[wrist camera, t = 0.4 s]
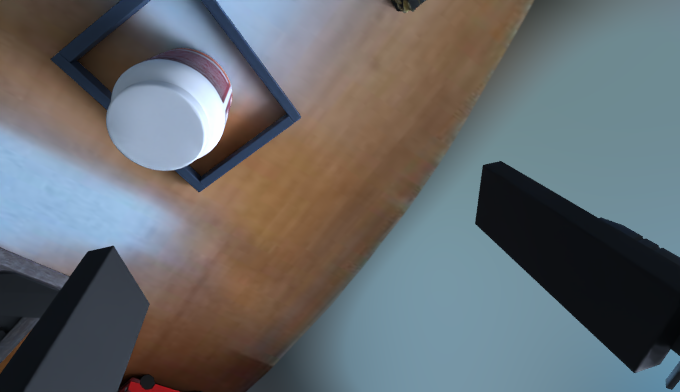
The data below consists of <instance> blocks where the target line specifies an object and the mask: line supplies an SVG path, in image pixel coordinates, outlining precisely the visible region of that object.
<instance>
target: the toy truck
mask: <svg viewBox="0 0 680 392" xmlns="http://www.w3.org/2000/svg"><path fill="white" fill-rule="evenodd" d="M154 384H155V383H154V378H153V377H152V376H150V375H144V376H143V377H141V378H140V379H137V378H134V377H132V378H131V379H130V380H129V381H127V382H126V383H125V384H124V385H123V386H122V387H121V388H120V389H119V390H118V391H117V392H179V391H176V390H173V389H170V388H166V387H163V386H160V385H157V384H155V385H154ZM153 385H154V386H153ZM200 392H201V391H200Z"/></svg>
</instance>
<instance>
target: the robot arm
mask: <svg viewBox="0 0 680 392" xmlns="http://www.w3.org/2000/svg"><path fill="white" fill-rule="evenodd" d="M475 224H476V225H477V226H478V227H479V228H480V229H481V230H482V231H483V232H485V233H486V234H487V235H488V236H489V237H490V238H491V239H492V240H493V241H494V242H495V243H497V245H498V246H499V247H501V248H502V249H503V250H504V251H505V252H506V253H507V254H508V255H509V256H510V257H511V258H512V259H514V261H515V262H517V263H518V264H519V265H520V266H521V267H522V268H523V269H524V270H525V271H526V272H527V273H528V274H529V275H531V277H533V278H534V279H535V280H536V281H537V282H538V283H539V284H540V285H541V286H542V287H543V288H544V289H545V290H546V291H547V292H549V293H550V294H551V295H552V296H553V297H554V298H555V299H556V300H557V301H558V302H559V303H560V304H561V305H562V306H564V308H565V309H567V310H568V311H569V312H570V313H571V314H572V315H573V316H574V317H575V318H576V319H577V320H578V321H579V322H580V323H581V324H583V325H584V326H585V327H586V328H587V329H588V330H589V331H590V332H591V333H592V334H593V335H594V336H595V337H596V338H597V339H599V340H600V341H601V342H602V343H603V344H604V345H605V346H606V347H607V348H608V349H609V350H610V351H611V352H612V353H613V354H615V355H616V356H617V357H618V358H619V359H620V360H621V361H622V362H623V363H624V364H625V365H626V366H627V367H628V368H629V369H630V370H631V371H633V372H634V373H636V372H639V371H642V370H645V369H648V368H651V367H653V366H656V365H659V364H660V363H661V362H662V361H663V359H664V358H665V356H666V355H667V354H668V352H669V350H670V349H672V350H673V351H674V352H676V353H677V354H678V355H679V356H680V257H678V256H676V255H674V254H673V253H671V252H669V251H667V250H666V249H664V248H659V246H658V245H657V244H655V243H653V242H652V241H649V240H648V239H643V236H641V235H639V234H637V233H636V232H634V231H632V230H630V229H629V228H627V227H625V226H623V225H621V224H618V223H615V222H612V221H609V220H606V219H604V218H597V217H595V216H594V215H592V214H590V213H589V212H587V211H585V210H584V209H582V208H580V207H578V206H576V205H575V204H573V203H572V202H570V201H568V200H566V199H565V198H563V197H561V196H560V195H558V194H556V193H554V192H553V191H551V190H550V189H548V188H546V187H544V186H543V185H541V184H539V183H537V182H536V181H534V180H532V179H531V178H529V177H527V176H525V175H524V174H522V173H520V172H519V171H517V170H515V169H514V168H512V167H510V166H509V165H506V164H505V163H503V162H502V161H499V162H495V163H491V164H486V165H483V169H482V176H481V184H480V191H479V199H478V206H477V214H476V222H475ZM148 307H149V302H148V300H147V299H146V297H145V296H144V294H143V292H142V291H141V289H140V288H139V286H138V284H137V283H136V281H135V280H134V278H133V276H132V275H131V273H130V272H129V270H128V268H127V267H126V265H125V263H124V262H123V260H122V259H121V257H120V255H119V254H118V252H117V251H116V249H115V247H114V246H111V247H106V248H101V249H97V250H92V251H88V252H87V253H86V255H85V256H84V258H83V259H82V260H81V262H80V263H79V265H78V266H77V267H76V269H75V270H74V272H73V273H72V274H71V276H70V277H69V279H68V280H67V281H66V283H65V284H64V286H63V287H62V288H61V290H60V291H59V293H58V294H57V295H56V297H55V298H54V300H53V301H52V302H51V304H50V305H49V307H48V308H47V309H46V311H45V312H44V314H43V315H42V316H41V318H40V319H39V321H38V322H37V323H36V325H35V326H34V328H33V329H32V330H31V332H30V333H29V335H28V336H27V337H26V339H25V340H24V342H23V343H22V344H21V346H20V347H19V349H18V350H17V351H16V353H15V354H14V356H13V357H12V358H11V360H10V361H9V363H8V364H7V365H6V367H5V368H4V370H3V371H2V372H1V374H0V392H117V391H118V389H119V386H120V383H121V381H122V378H123V375H124V372H125V370H126V367H127V364H128V361H129V359H130V356H131V353H132V351H133V348H134V345H135V342H136V340H137V337H138V334H139V332H140V329H141V326H142V323H143V321H144V318H145V315H146V313H147V310H148ZM679 380H680V362H679V363H678V364H677V366H676V367H675V368H674V370H673V371H672V372H671V374H670V375H669V376H668V378H667V379H666V388H668V389H671V390H672V389H673V388H674V387H675V385H676V384H677V383H678V382H679Z"/></svg>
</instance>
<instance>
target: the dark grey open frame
mask: <svg viewBox="0 0 680 392" xmlns="http://www.w3.org/2000/svg"><path fill="white" fill-rule="evenodd" d="M149 1H150V0H120V1H119V2H118V3H117V4H116V5H114V6H113V7H112V8H111V9H110V10H108V11H107V12H106V13H105V14H104V15H102V16H101V17H100V18H99V19H98V20H96V21H95V22H94V23H93V24H92V25H90V26H89V27H88V28H87V29H86V30H85V31H83V32H82V33H81V34H80V35H79V36H77V37H76V38H75V39H74V40H73V41H71V42H70V43H69V44H68V45H67V46H65V47H64V48H63V49H62V50H61V51H59V53H57V54H56V55H55V56H54V57H52V58H51V60H52V61H53V62H54V63H55V64H56V65H57V66H59V67H60V68H61V69H62V70H63V71H64V72H65V73H66V74H67V75H69V76H70V77H71V78H72V79H73V80H74V81H75V82H76V83H78V84H79V85H80V86H81V87H82V88H83V89H84V90H85V91H86V92H88V93H89V94H90V95H91V96H92V97H93V98H94V99H95V100H97V101H98V102H99V103H100V104H101V105H102V106H103V107H104V108H105V109H107V110H108V107H109V105H110V103H111V96H112V93H111V92H110V91H109V90H108V89H107V88H106V87H105V86H104V85H103V84H102V83H101V82H100V81H99V80H98V79H97V78H95V77H94V76H93V75H92V74H91V73H90V72H89V71H88V70H87V69H86V68H85V67H84V66H83V65H82V64H80V63H79V62H78V61H77V60H79V59H80V58H81V57H83V56H84V55H85V54H86V53H87V52H89V51H90V50H91V49H92V48H93V47H95V46H96V45H97V44H98V43H99V42H101V41H102V40H103V39H104V38H106V37H107V36H108V35H109V34H110V33H112V32H113V31H114V30H115V29H116V28H118V27H119V26H120V25H121V24H122V23H124V22H125V21H126V20H127V19H129V18H130V17H131V16H132V15H133V14H135V13H136V12H137V11H138V10H139V9H141V8H142V7H143V6H144V5H145V4H147V3H148V2H149ZM201 1H202V3H203V4H204V5H205V6H206V8H207V9H208V10H209V12H210V13H211V14H212V16H213V17H214V18H215V20H216V21H217V22H218V24H219V25H220V26H221V28H222V29H223V30H224V31H225V33H226V34H227V35H228V37H229V38H230V39H231V41H232V42H233V43H234V45H235V46H236V47H237V49H238V50H239V51H240V52H241V54H242V55H243V56H244V58H245V59H246V60H247V62H248V63H249V64H250V66H251V67H252V68H253V70H254V71H255V72H256V74H257V75H258V76H259V77H260V79H261V80H262V81H263V83H264V84H265V85H266V87H267V88H268V89H269V91H270V92H271V93H272V95H273V96H274V97H275V99H276V100H277V101H278V102H279V104H280V105H281V106H282V108H283V109H284V110H285V112H286V114H285V115H284V116H282V117H281V118H280V119H278V120H277V121H276V122H274V123H273V124H272V125H270V126H269V127H267V128H266V129H265V130H263V131H262V132H261V133H259V134H258V135H257V136H255V137H254V138H253V139H251V140H250V141H248V142H247V143H246V144H244V145H243V146H242V147H240V148H239V149H238V150H236V151H235V152H234V153H232V154H231V155H229V156H228V157H227V158H225V159H224V160H223V161H221V162H220V163H219V164H217V165H216V166H215V167H213V168H212V169H210V170H209V171H208V172H206V173H205V174H204V175H202V176H200V175H199V174H198V173H197V172H196V171H195V170H194V169H193V168H192V167H191V166H190V165H187V166H185V167H183V168H180V169H176V170H175V171H176V172H177V173H178V174H179V175H180V176H181V177H182V178H184V179H185V180H186V181H187V182H188V183H189V184H190V185H191V186H193V187H194V188H195V189H196V190H197V191H198V192H201V191H202V190H203V189H205V188H206V187H207V186H209V185H210V184H211V183H213V182H214V181H216V180H217V179H218V178H220V177H221V176H222V175H224V174H225V173H226V172H228V171H229V170H231V169H232V168H233V167H235V166H236V165H237V164H239V163H240V162H242V161H243V160H244V159H246V158H247V157H248V156H250V155H251V154H252V153H254V152H255V151H257V150H258V149H259V148H261V147H262V146H263V145H265V144H266V143H268V142H269V141H270V140H272V139H273V138H274V137H276V136H277V135H278V134H280V133H281V132H283V131H284V130H285V129H287V128H288V127H289V126H291V125H292V124H293V123H294V122H296V121H297V120H299V119H300V118H301V116H300V114H299V113H298V111H297V110H296V108H295V107H294V106H293V104H292V103H291V102H290V100H289V99H288V98H287V96H286V95H285V93H284V92H283V91H282V89H281V88H280V87H279V85H278V84H277V83H276V81H275V80H274V79H273V77H272V76H271V74H270V73H269V72H268V70H267V69H266V68H265V66H264V65H263V64H262V62H261V61H260V60H259V58H258V57H257V55H256V54H255V53H254V51H253V50H252V49H251V47H250V46H249V45H248V43H247V42H246V40H245V39H244V38H243V36H242V35H241V34H240V32H239V31H238V30H237V28H236V27H235V26H234V24H233V23H232V21H231V20H230V19H229V17H228V16H227V15H226V13H225V12H224V11H223V9H222V8H221V6H220V5H219V4H218V2H217V1H216V0H201Z"/></svg>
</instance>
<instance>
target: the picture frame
mask: <svg viewBox="0 0 680 392" xmlns="http://www.w3.org/2000/svg"><path fill="white" fill-rule="evenodd" d="M68 279H69V276H67V275H65V274H62V273H60V272H57V271H55V270H52V269H50V268H48V267H45V266H43V265H40V264H38V263H36V262H33V261H31V260H28V259H26V258H24V257H21V256H19V255H16V254H14V253H11V252H9V251H7V250H4V249H2V248H0V363H1V362H2V361H3V360H4V359H5V358H6V357H7V355H8V354H9V353H10V352H11V351H12V350H13V349H14V348H15V347H16V346H17V345H18V344H19V342H20V341H21V340H22V339H23V338H24V337H25V336H26V335H27V334H28V333H29V332H30V331H31V329H32V328H33V327H34V326H35V325H36V323H37V322H38V321H39V319H40V318H41V316H42V315H43V314H44V312H45V311H46V309H47V308H48V307H49V305H50V304H51V302H52V301H53V300H54V298H55V297H56V295H57V294H58V293H59V291H60V290H61V288H62V287H63V286H64V284H65V283H66V281H67V280H68Z"/></svg>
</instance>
